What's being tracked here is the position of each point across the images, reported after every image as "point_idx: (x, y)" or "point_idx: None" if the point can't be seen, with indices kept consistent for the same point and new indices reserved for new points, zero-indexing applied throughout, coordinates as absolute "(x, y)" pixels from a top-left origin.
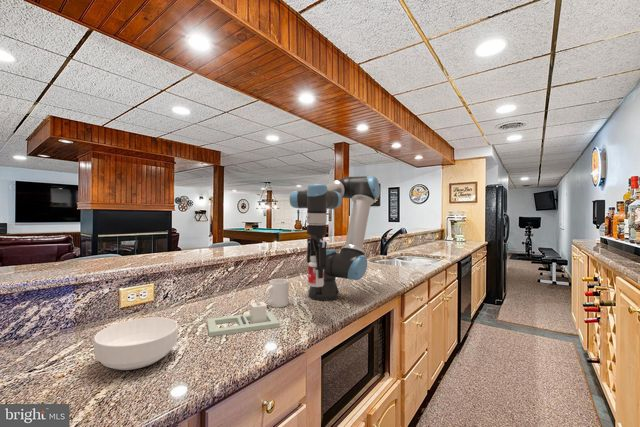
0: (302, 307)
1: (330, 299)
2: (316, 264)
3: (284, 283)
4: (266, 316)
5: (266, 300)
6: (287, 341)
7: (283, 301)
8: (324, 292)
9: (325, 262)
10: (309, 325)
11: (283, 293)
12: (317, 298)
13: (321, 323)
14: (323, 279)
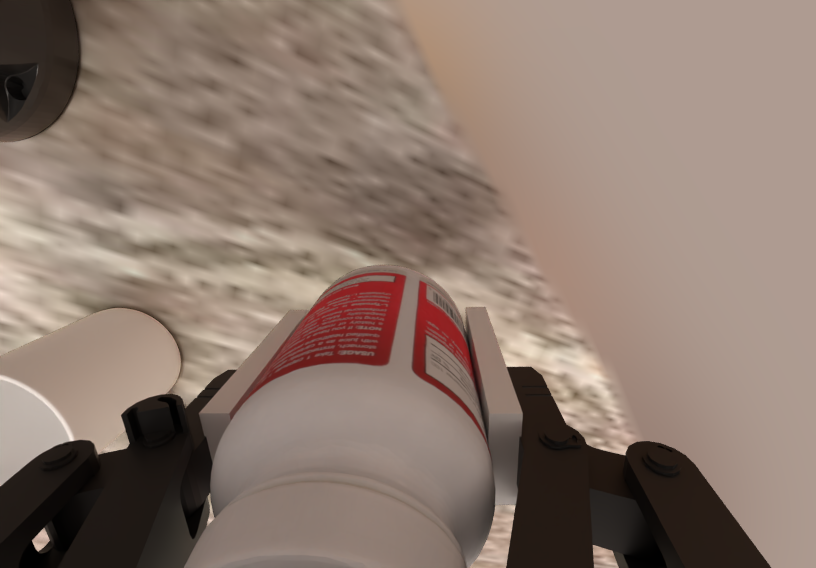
0: (194, 248)
1: (67, 7)
2: (475, 558)
3: (67, 416)
4: None
5: None
6: None
7: (159, 356)
8: (15, 43)
9: (752, 565)
10: (457, 301)
11: (126, 382)
12: (55, 106)
13: (453, 237)
14: (447, 309)
